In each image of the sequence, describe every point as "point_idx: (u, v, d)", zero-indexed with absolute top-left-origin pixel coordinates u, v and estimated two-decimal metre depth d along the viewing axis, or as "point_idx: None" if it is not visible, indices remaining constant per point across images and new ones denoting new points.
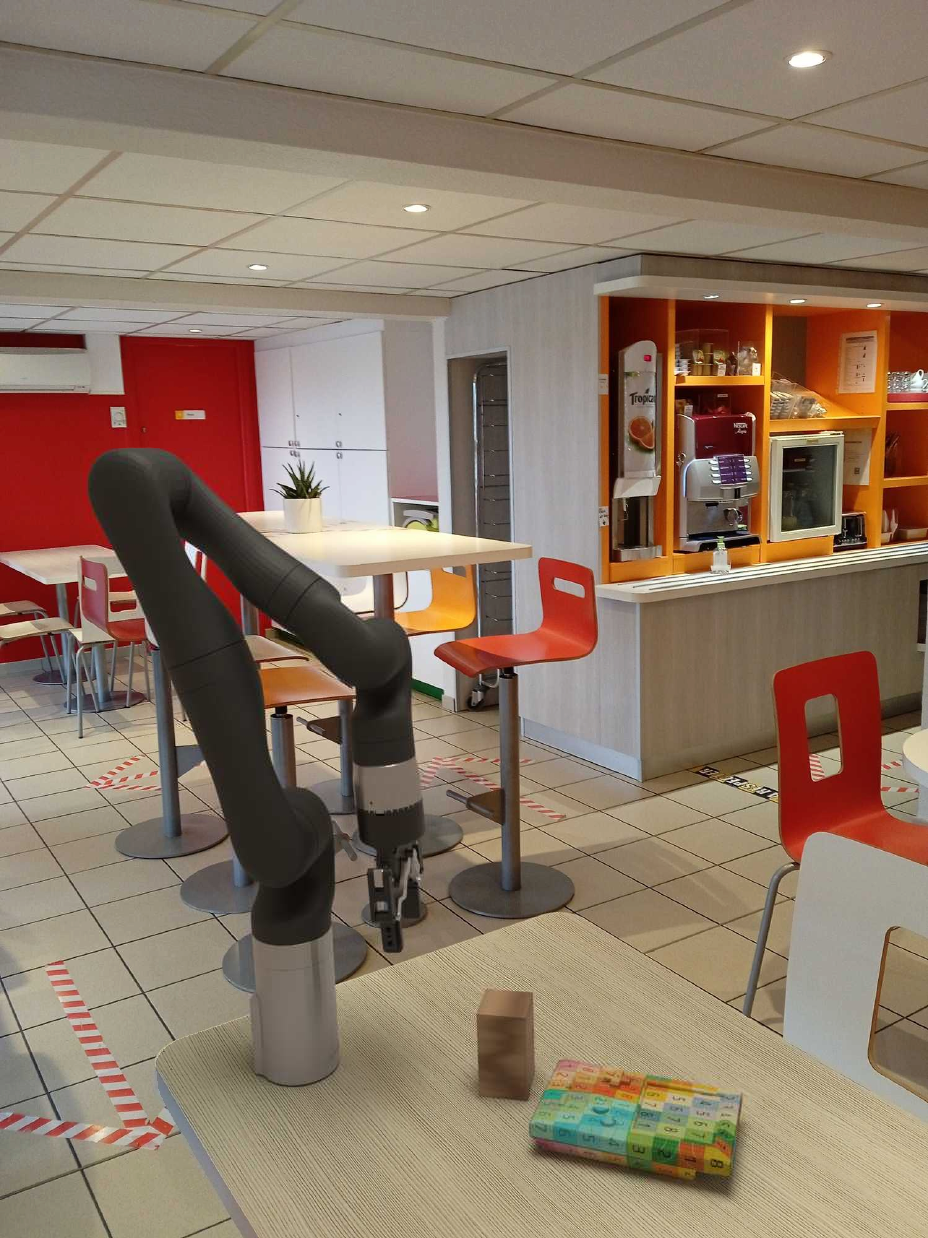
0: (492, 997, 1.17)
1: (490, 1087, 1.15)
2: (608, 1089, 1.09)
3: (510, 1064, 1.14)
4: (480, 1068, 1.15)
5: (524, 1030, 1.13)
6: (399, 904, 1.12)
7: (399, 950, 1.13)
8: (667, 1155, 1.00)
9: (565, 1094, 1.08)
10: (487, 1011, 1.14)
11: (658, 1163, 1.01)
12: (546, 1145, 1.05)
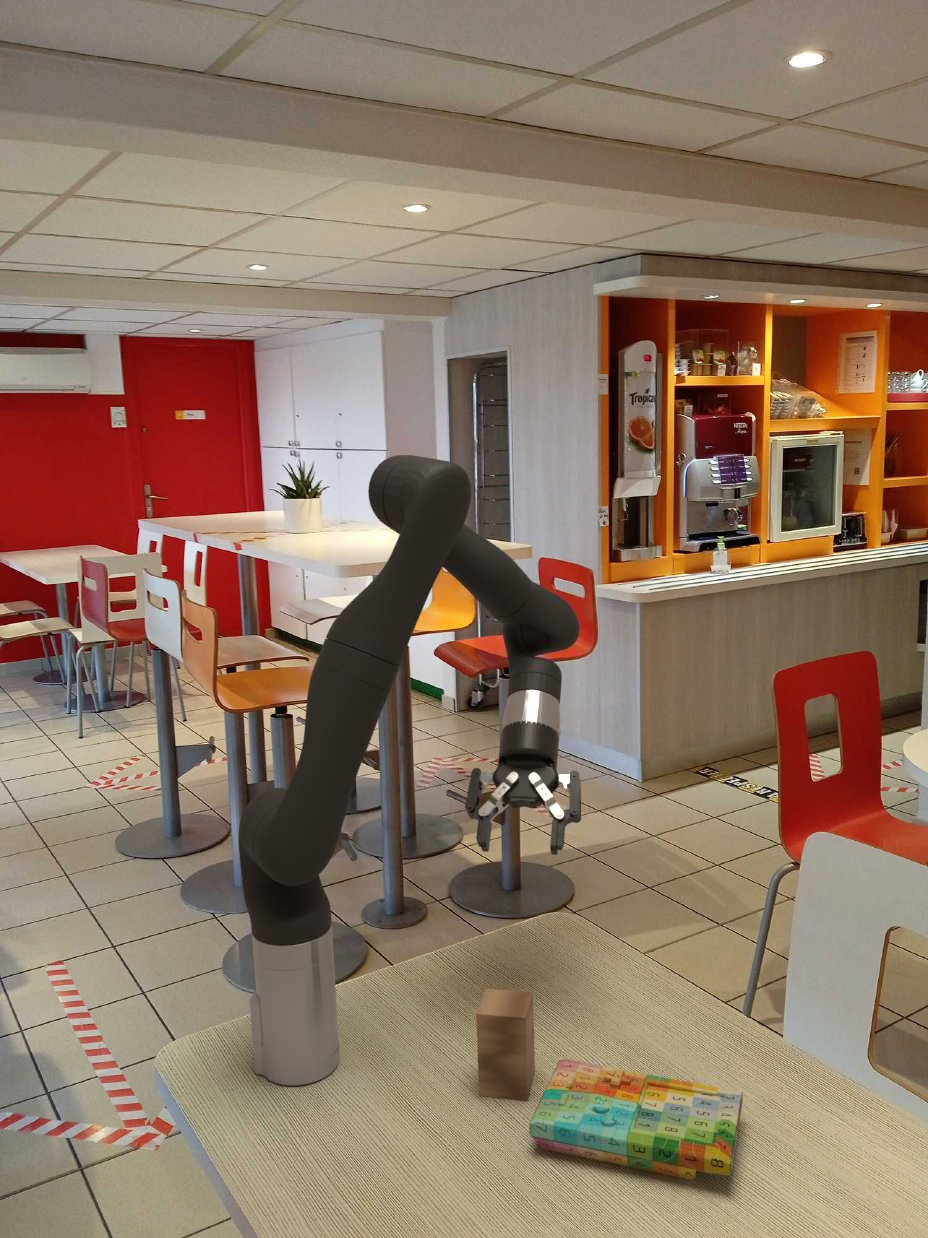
0: (492, 998, 1.17)
1: (490, 1087, 1.15)
2: (609, 1089, 1.09)
3: (510, 1064, 1.14)
4: (480, 1068, 1.15)
5: (524, 1030, 1.13)
6: None
7: (557, 852, 1.24)
8: (667, 1155, 1.00)
9: (565, 1094, 1.08)
10: (487, 1011, 1.14)
11: (658, 1163, 1.01)
12: (546, 1145, 1.05)
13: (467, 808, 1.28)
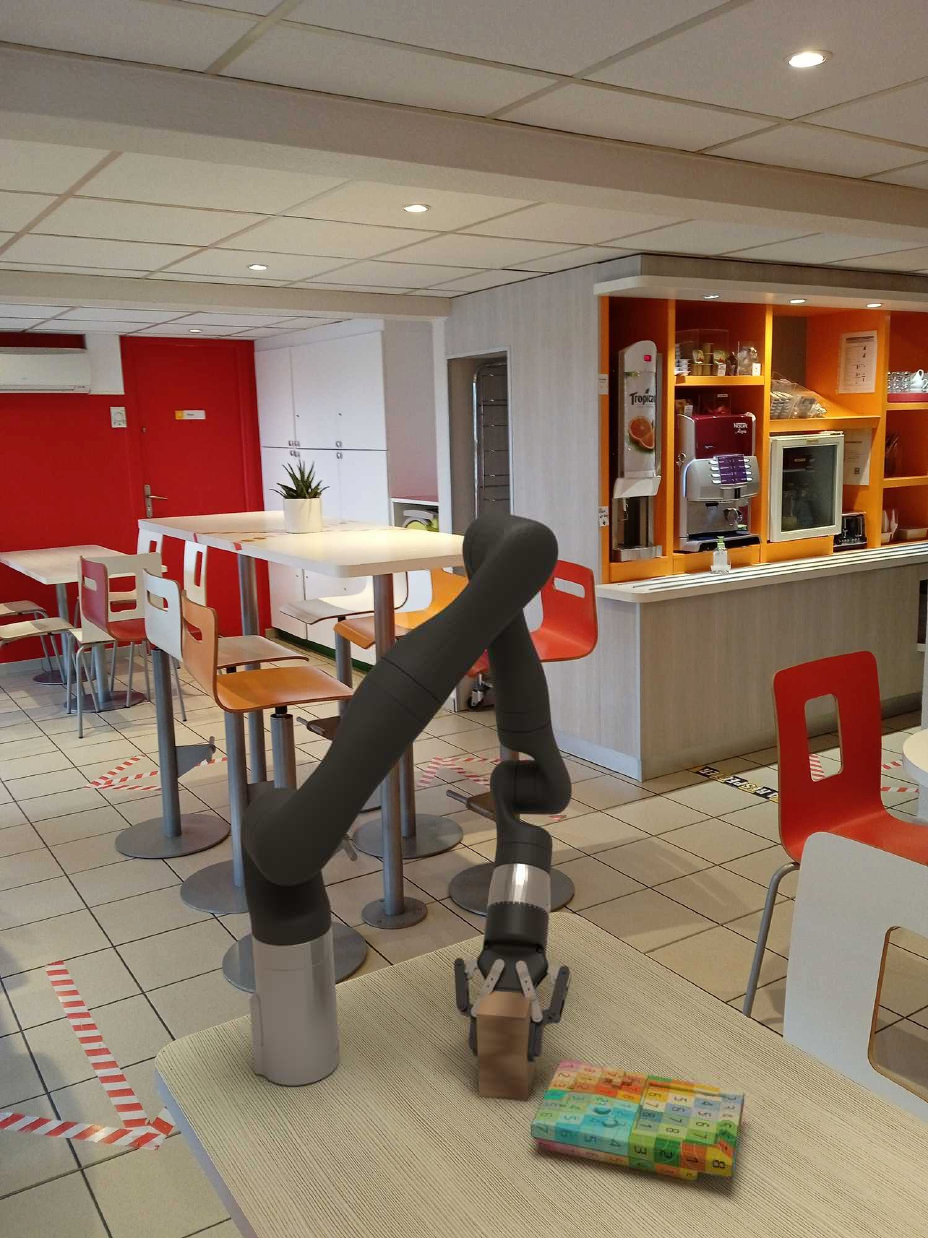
0: (492, 997, 1.17)
1: (490, 1087, 1.15)
2: (610, 1089, 1.09)
3: (510, 1063, 1.14)
4: (480, 1068, 1.15)
5: (524, 1030, 1.13)
6: None
7: (534, 1059, 1.15)
8: (669, 1156, 1.00)
9: (567, 1095, 1.08)
10: (487, 1011, 1.14)
11: (660, 1164, 1.01)
12: (548, 1146, 1.05)
13: (459, 1007, 1.18)
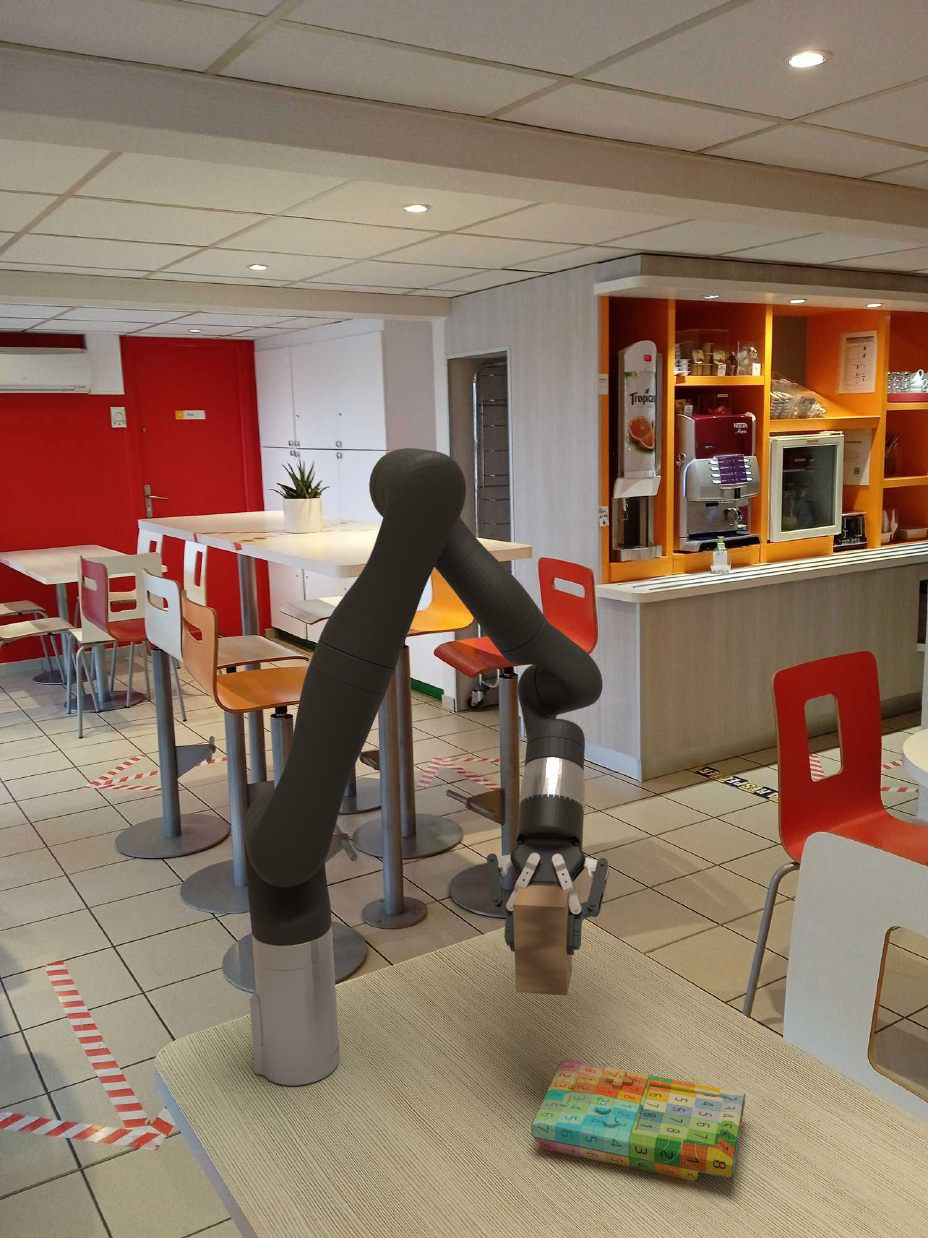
0: (527, 890, 1.12)
1: (527, 982, 1.10)
2: (611, 1089, 1.09)
3: (549, 956, 1.09)
4: (517, 962, 1.10)
5: (563, 920, 1.08)
6: None
7: None
8: (669, 1156, 1.00)
9: (567, 1095, 1.08)
10: (524, 902, 1.09)
11: (660, 1164, 1.01)
12: (548, 1146, 1.05)
13: (494, 902, 1.13)
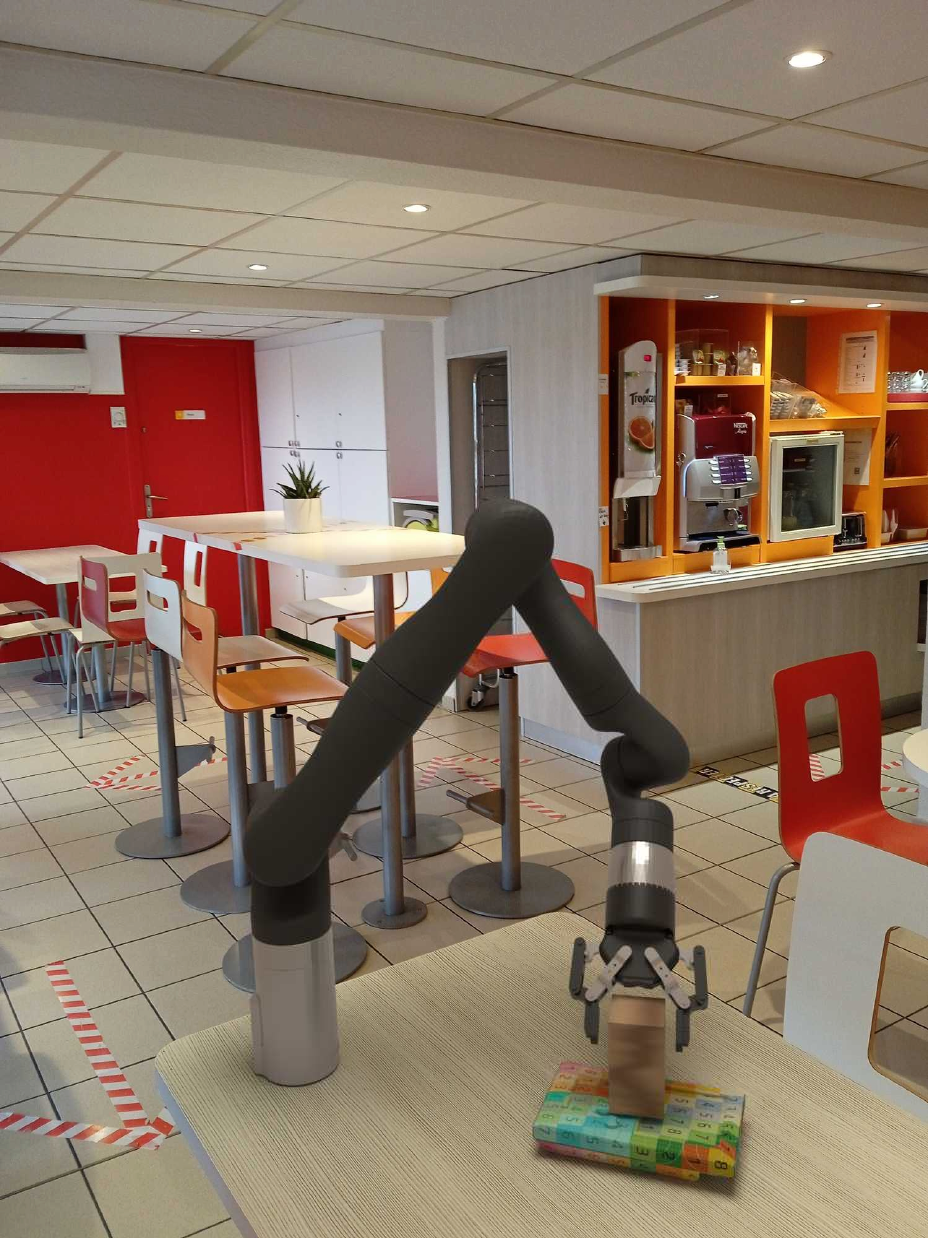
0: (621, 1004, 1.07)
1: (621, 1103, 1.04)
2: None
3: (645, 1077, 1.03)
4: (611, 1082, 1.04)
5: (662, 1040, 1.02)
6: None
7: None
8: (671, 1157, 1.00)
9: (568, 1096, 1.08)
10: (620, 1019, 1.04)
11: (662, 1165, 1.01)
12: (549, 1147, 1.05)
13: (571, 990, 1.08)
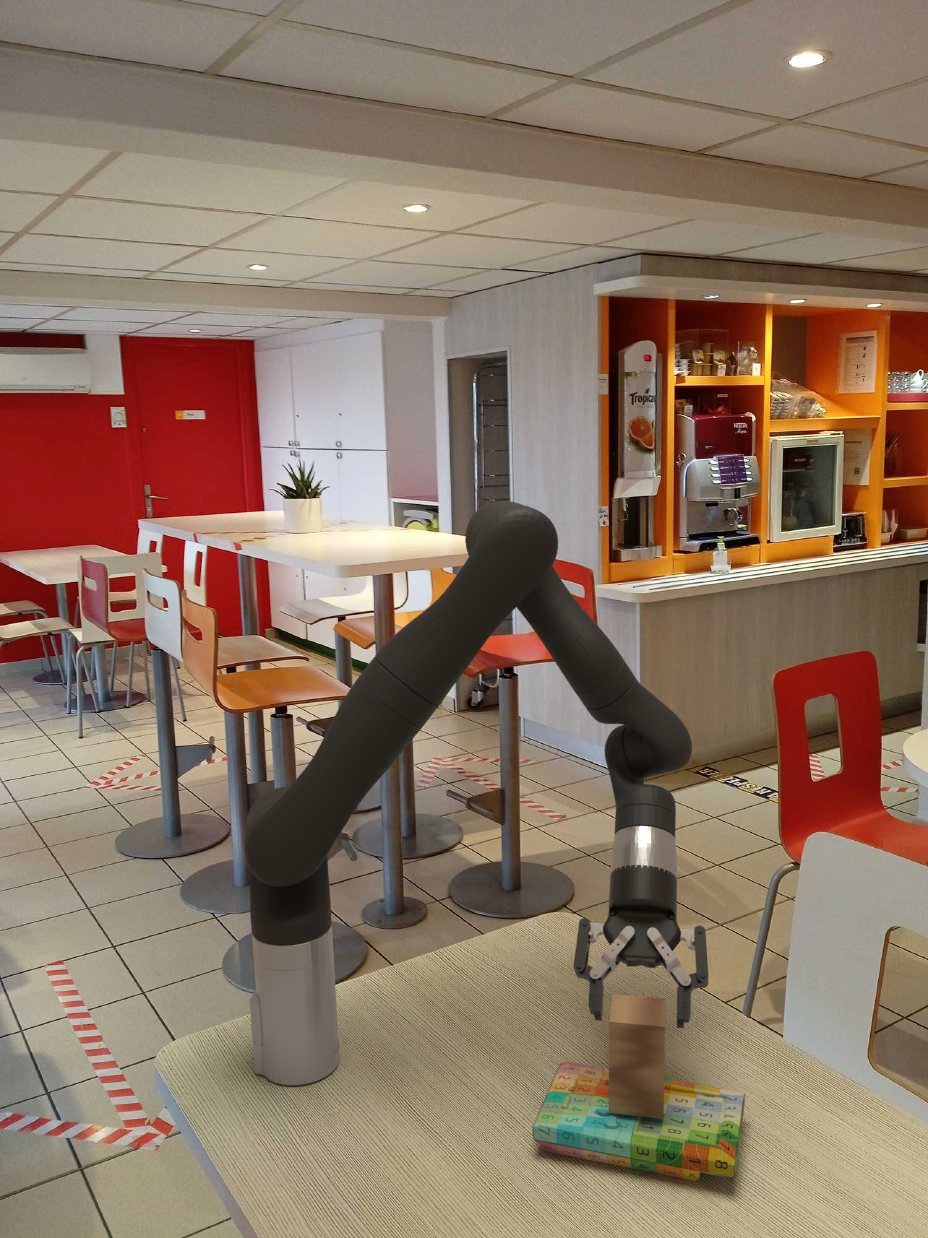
0: (621, 1004, 1.07)
1: (621, 1103, 1.04)
2: None
3: (645, 1077, 1.03)
4: (611, 1081, 1.04)
5: (663, 1040, 1.02)
6: None
7: None
8: (671, 1157, 1.00)
9: (568, 1097, 1.08)
10: (621, 1019, 1.04)
11: (662, 1165, 1.01)
12: (549, 1148, 1.05)
13: (576, 968, 1.11)
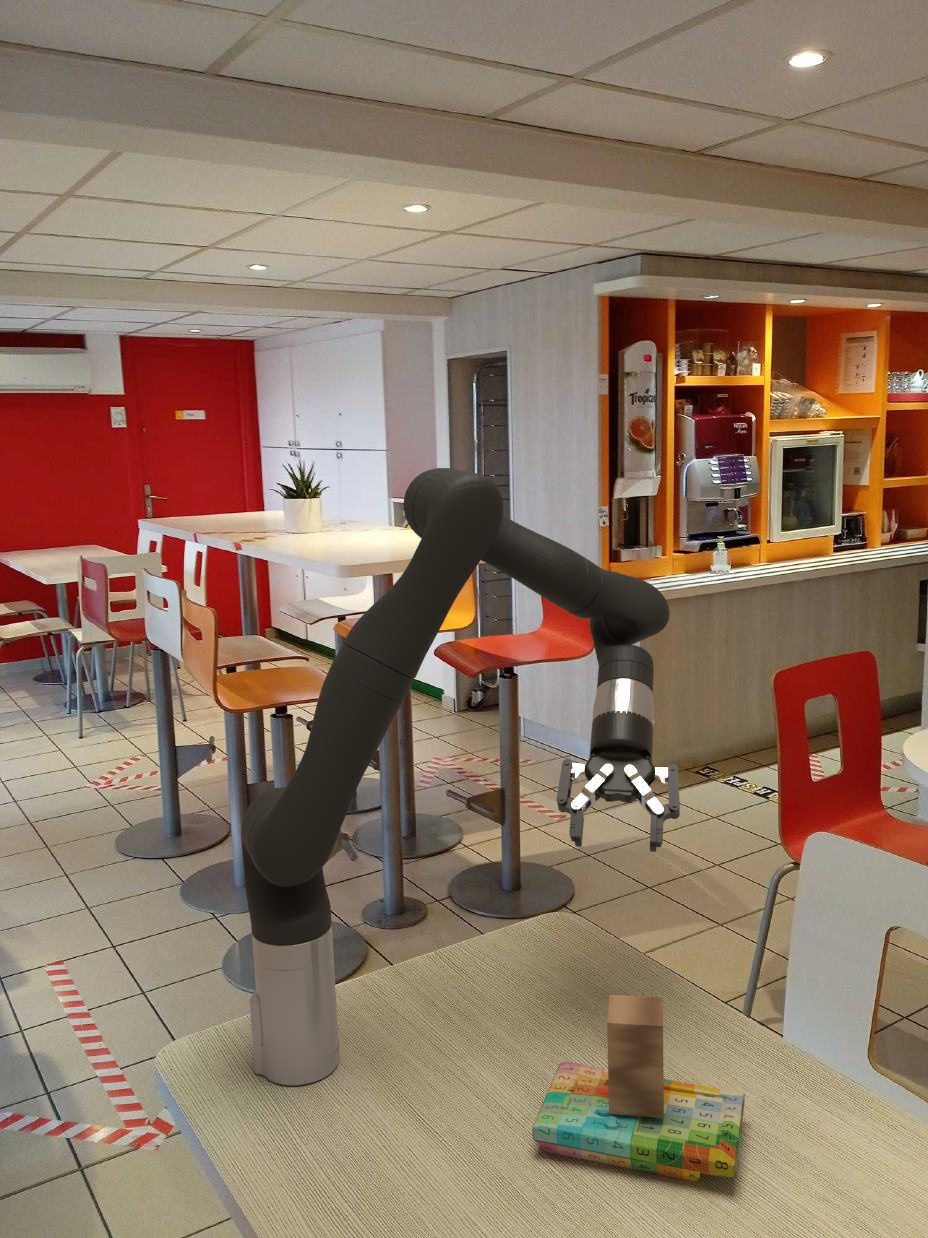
0: (619, 1004, 1.07)
1: (621, 1104, 1.04)
2: None
3: (645, 1077, 1.03)
4: (610, 1082, 1.04)
5: (661, 1039, 1.02)
6: None
7: None
8: (671, 1158, 1.00)
9: (568, 1097, 1.08)
10: (619, 1019, 1.04)
11: (662, 1165, 1.01)
12: (549, 1148, 1.05)
13: (559, 800, 1.21)
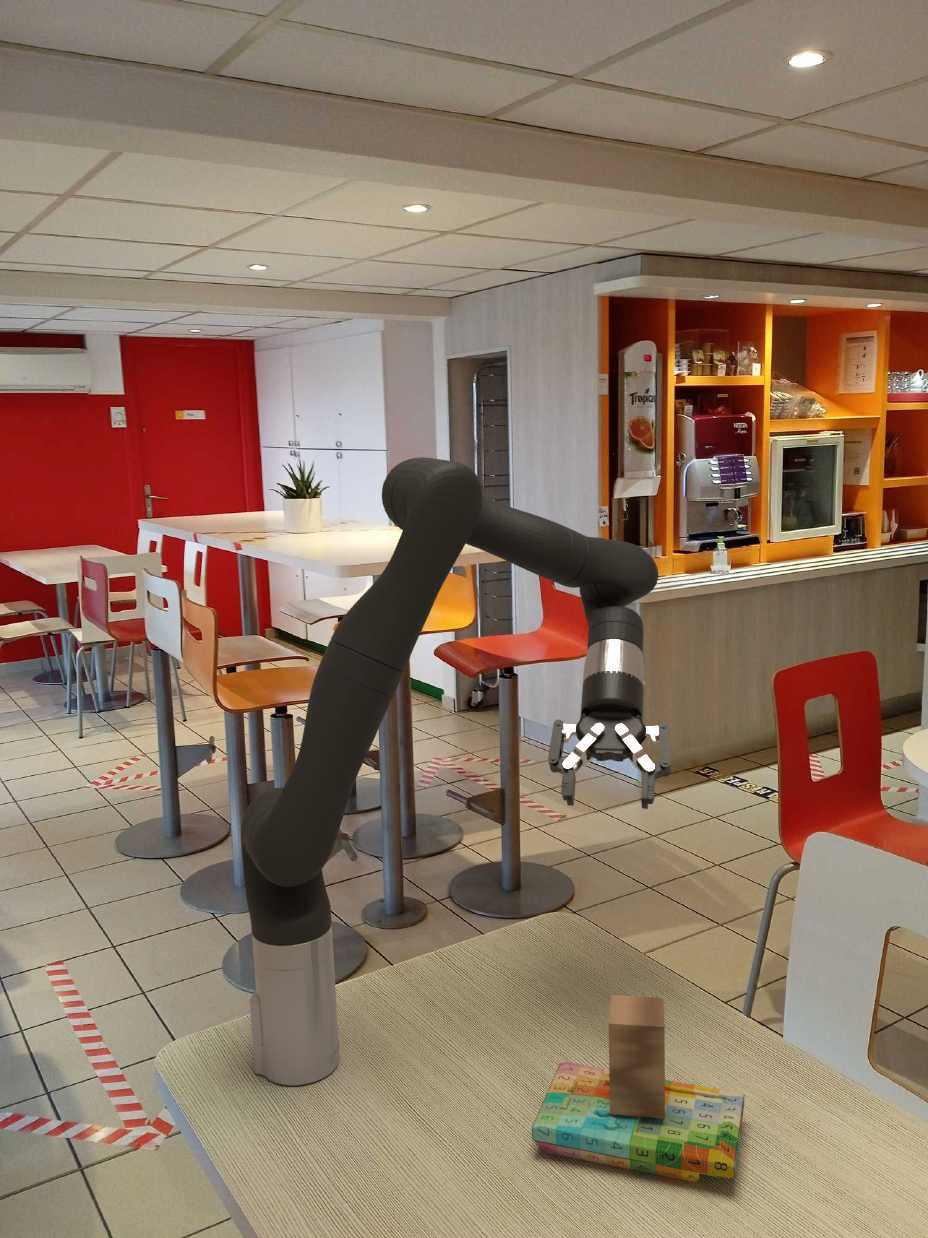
0: (620, 1005, 1.06)
1: (622, 1104, 1.04)
2: None
3: (646, 1077, 1.03)
4: (612, 1083, 1.04)
5: (662, 1040, 1.02)
6: None
7: (647, 806, 1.18)
8: (671, 1158, 1.00)
9: (567, 1097, 1.08)
10: (620, 1020, 1.04)
11: (662, 1166, 1.01)
12: (549, 1149, 1.05)
13: (550, 760, 1.22)
